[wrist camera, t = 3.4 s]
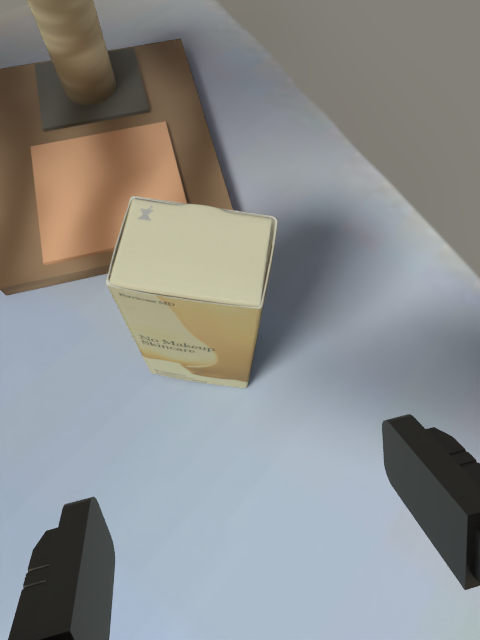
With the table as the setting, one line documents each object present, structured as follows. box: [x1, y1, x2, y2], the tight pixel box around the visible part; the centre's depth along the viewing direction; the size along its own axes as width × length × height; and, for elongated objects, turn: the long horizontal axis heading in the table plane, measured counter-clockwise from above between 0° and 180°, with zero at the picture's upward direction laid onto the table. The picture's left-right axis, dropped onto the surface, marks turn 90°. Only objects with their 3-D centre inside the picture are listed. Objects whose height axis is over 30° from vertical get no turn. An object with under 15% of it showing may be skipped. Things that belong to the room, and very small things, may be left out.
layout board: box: [0, 0, 233, 295], centre depth 31 cm, size 16×20×9 cm
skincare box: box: [106, 196, 278, 388], centre depth 23 cm, size 6×4×12 cm
